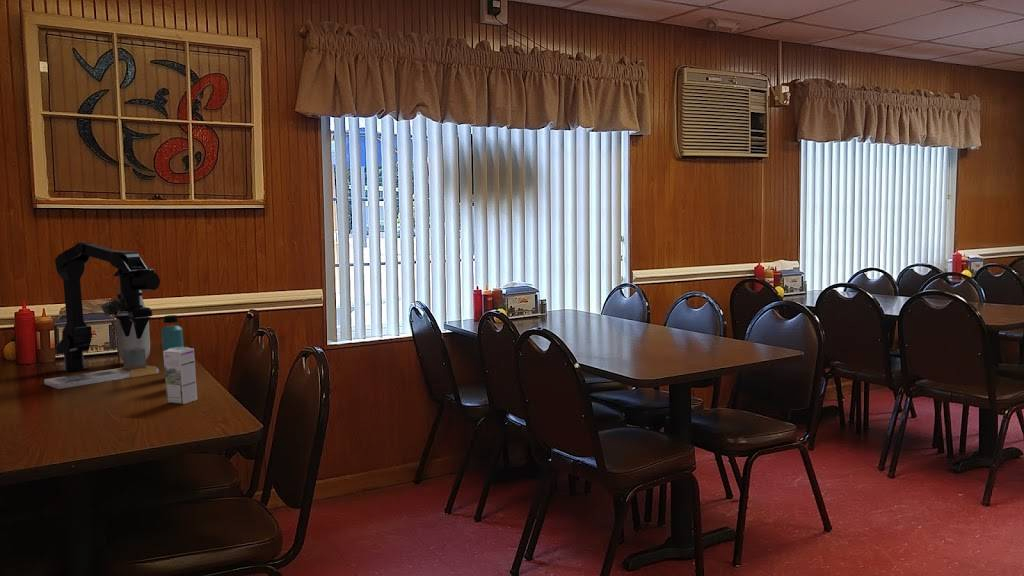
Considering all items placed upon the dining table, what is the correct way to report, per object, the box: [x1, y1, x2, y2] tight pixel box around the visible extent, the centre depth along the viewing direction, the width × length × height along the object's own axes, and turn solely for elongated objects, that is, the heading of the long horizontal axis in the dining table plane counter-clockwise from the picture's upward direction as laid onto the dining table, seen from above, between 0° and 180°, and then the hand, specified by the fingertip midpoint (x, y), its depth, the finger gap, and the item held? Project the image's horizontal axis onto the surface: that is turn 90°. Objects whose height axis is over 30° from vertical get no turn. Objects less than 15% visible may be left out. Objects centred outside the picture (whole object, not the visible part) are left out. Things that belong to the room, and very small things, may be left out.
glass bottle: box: [115, 288, 151, 362], centre depth 272 cm, size 10×10×28 cm
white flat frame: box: [44, 364, 160, 390], centre depth 246 cm, size 13×30×2 cm, turn 138°
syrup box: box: [162, 347, 198, 405], centre depth 209 cm, size 6×6×14 cm
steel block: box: [122, 348, 147, 371], centre depth 254 cm, size 5×5×8 cm
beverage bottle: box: [160, 314, 185, 375], centre depth 243 cm, size 6×7×20 cm
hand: (132, 337), depth 253 cm, fingers open, 9 cm apart
